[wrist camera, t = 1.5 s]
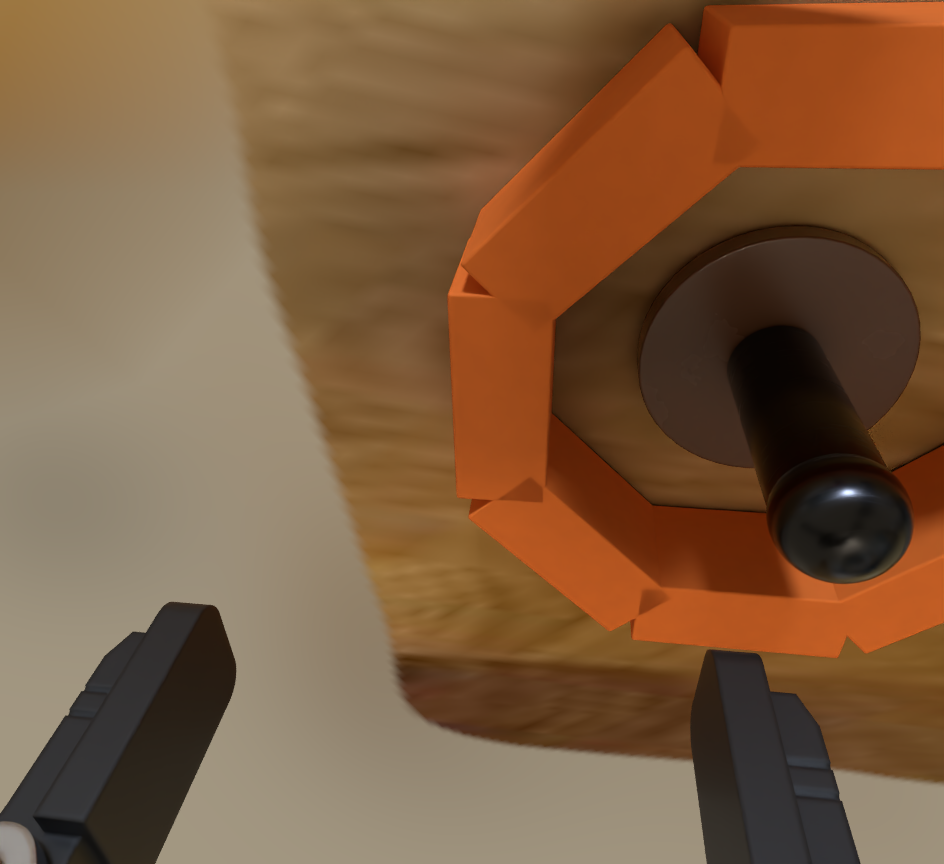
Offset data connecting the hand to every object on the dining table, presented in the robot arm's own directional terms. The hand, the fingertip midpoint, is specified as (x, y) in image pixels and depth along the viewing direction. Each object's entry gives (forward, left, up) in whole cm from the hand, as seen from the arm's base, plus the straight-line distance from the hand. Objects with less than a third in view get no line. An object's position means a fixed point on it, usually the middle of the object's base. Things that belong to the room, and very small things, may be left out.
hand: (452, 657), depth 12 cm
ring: (-5, +5, -11) cm, 13 cm away
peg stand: (-5, +5, -11) cm, 13 cm away
